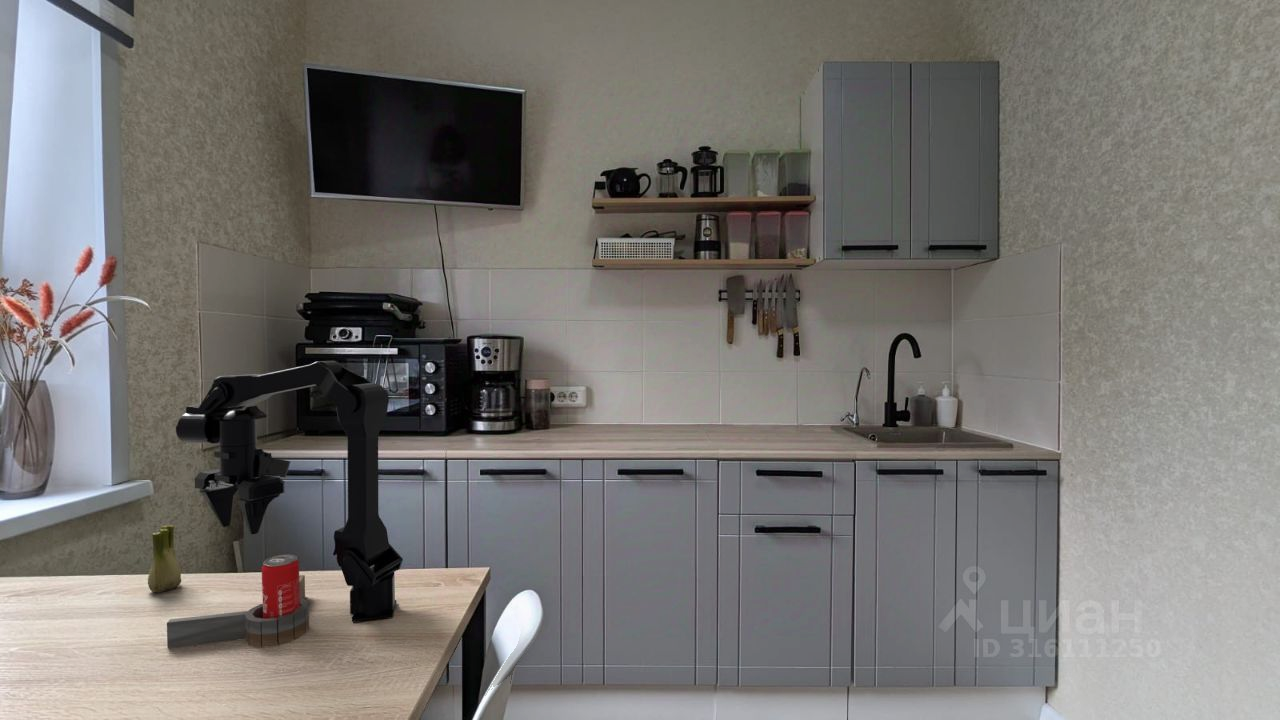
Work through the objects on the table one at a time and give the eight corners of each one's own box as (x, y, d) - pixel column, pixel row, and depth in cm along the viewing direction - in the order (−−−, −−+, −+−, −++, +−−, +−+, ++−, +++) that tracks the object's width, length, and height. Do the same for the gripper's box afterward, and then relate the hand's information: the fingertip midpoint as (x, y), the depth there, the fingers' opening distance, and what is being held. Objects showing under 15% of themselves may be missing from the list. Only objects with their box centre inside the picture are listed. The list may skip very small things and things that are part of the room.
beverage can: (287, 641, 98) (285, 566, 97) (256, 640, 98) (253, 565, 97) (307, 625, 103) (305, 554, 102) (277, 624, 103) (275, 553, 102)
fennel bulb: (158, 597, 115) (156, 532, 114) (138, 594, 116) (137, 530, 115) (189, 585, 120) (187, 523, 120) (169, 582, 121) (168, 521, 121)
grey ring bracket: (300, 642, 97) (300, 617, 97) (155, 660, 92) (155, 633, 92) (327, 594, 116) (326, 572, 115) (208, 606, 110) (207, 584, 110)
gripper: (312, 441, 114) (314, 525, 115) (254, 434, 123) (256, 512, 124) (249, 451, 104) (251, 543, 105) (192, 442, 114) (194, 527, 114)
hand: (240, 530), depth 112 cm, fingers open, 9 cm apart
